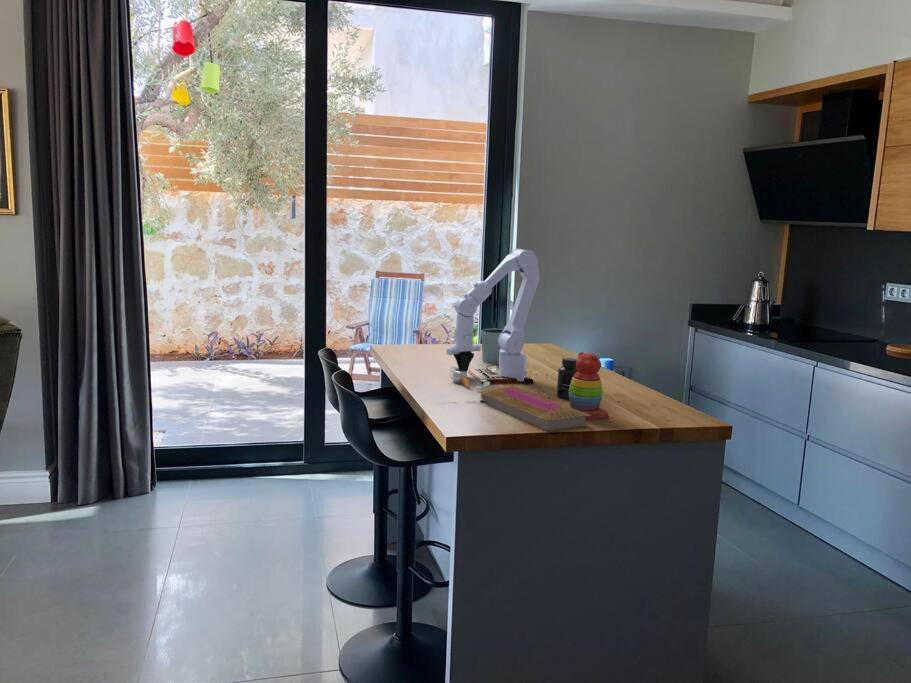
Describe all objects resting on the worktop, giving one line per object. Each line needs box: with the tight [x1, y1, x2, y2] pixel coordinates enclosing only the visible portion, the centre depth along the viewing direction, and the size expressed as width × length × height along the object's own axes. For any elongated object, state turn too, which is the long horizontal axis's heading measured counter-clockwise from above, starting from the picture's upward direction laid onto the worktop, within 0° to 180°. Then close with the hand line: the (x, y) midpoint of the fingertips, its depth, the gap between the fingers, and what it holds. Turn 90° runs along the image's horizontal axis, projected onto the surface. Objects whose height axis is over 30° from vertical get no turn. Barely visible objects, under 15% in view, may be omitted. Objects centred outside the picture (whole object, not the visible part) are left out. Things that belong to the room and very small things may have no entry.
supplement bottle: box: [556, 357, 578, 400], centre depth 237 cm, size 7×7×12 cm
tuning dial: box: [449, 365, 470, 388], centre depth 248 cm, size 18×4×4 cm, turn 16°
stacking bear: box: [568, 351, 609, 420], centre depth 216 cm, size 11×10×18 cm
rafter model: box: [476, 385, 590, 431], centre depth 217 cm, size 35×14×6 cm, turn 29°
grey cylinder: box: [480, 328, 504, 365], centre depth 291 cm, size 10×10×12 cm
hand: (463, 374), depth 258 cm, fingers closed
